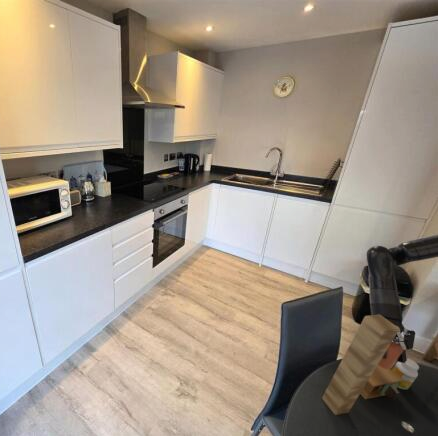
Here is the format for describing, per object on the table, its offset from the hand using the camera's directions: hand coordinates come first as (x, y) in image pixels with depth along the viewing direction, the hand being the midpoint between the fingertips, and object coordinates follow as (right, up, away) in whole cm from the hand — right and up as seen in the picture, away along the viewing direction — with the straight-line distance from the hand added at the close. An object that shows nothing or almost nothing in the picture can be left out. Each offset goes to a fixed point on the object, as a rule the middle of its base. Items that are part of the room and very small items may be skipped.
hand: (392, 360), depth 77 cm
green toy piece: (+3, -14, +3) cm, 15 cm away
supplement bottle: (+11, -13, +9) cm, 20 cm away
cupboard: (-1, -13, +7) cm, 15 cm away
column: (-18, -15, +1) cm, 23 cm away
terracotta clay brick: (0, -3, +3) cm, 5 cm away
